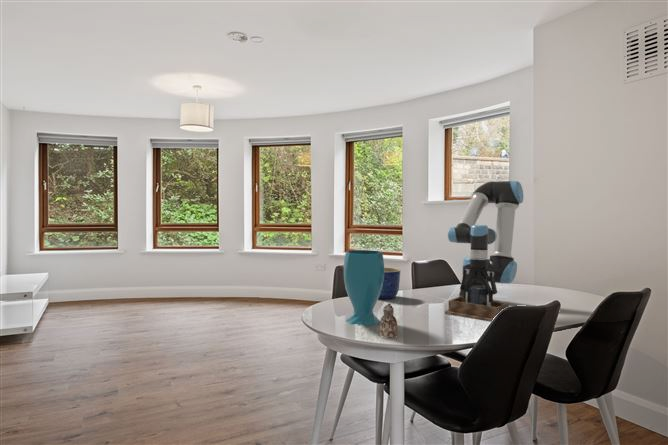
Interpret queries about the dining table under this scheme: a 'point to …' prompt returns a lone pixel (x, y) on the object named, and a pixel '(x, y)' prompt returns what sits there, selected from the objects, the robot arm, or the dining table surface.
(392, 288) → the planter
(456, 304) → the tray
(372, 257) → the vase
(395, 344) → the dining table surface
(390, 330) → the figurine
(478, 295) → the box
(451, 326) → the dining table surface
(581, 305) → the dining table surface
